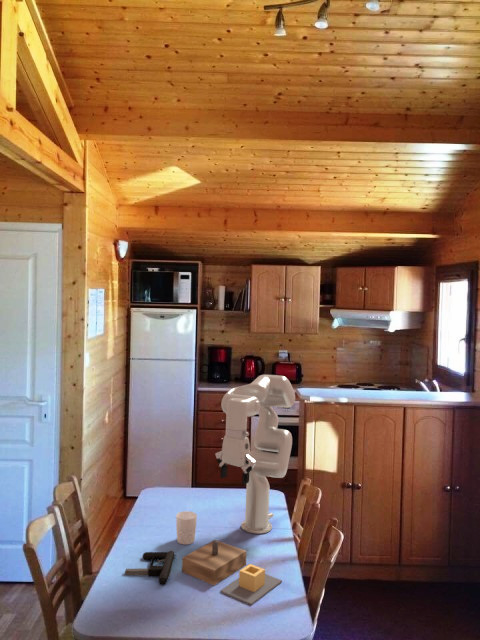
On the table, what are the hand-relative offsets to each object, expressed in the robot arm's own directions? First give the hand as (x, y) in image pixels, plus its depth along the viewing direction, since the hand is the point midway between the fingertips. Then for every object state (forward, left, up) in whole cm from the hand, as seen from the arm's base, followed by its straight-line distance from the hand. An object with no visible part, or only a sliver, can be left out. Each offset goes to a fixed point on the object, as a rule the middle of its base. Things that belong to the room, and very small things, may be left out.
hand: (234, 480), depth 194 cm
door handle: (+24, -16, -29) cm, 41 cm away
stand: (+10, 0, -28) cm, 30 cm away
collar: (+12, +17, -28) cm, 35 cm away
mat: (+12, +17, -28) cm, 35 cm away
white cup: (0, -22, -28) cm, 36 cm away
